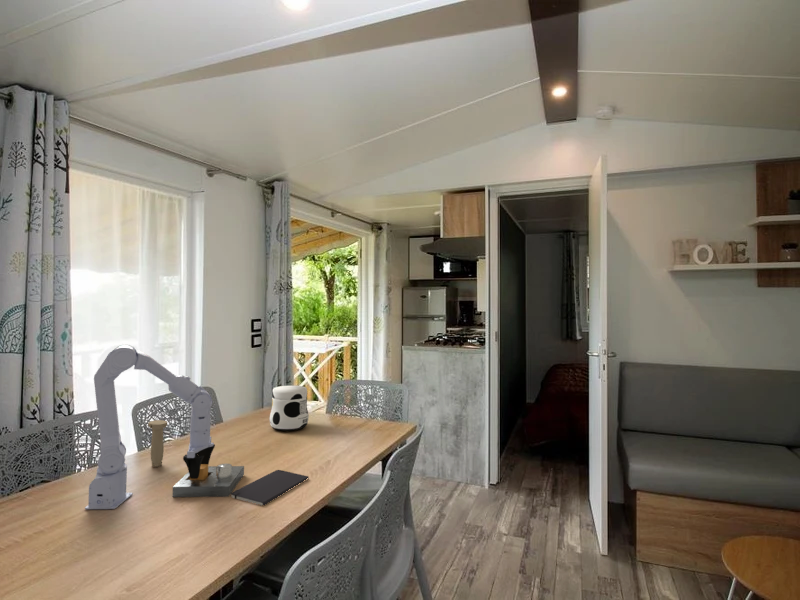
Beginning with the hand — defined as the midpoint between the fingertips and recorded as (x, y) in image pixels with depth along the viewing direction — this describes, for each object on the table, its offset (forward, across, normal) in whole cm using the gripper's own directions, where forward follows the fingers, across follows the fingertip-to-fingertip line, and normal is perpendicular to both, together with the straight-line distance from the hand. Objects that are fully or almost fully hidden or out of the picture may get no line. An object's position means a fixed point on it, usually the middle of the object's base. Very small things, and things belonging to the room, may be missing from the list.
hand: (199, 473), depth 136 cm
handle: (+4, +17, +20) cm, 27 cm away
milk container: (+4, +63, -16) cm, 65 cm away
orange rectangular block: (+4, 0, 0) cm, 4 cm away
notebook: (+5, -2, -22) cm, 23 cm away
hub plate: (+4, 0, -4) cm, 5 cm away
